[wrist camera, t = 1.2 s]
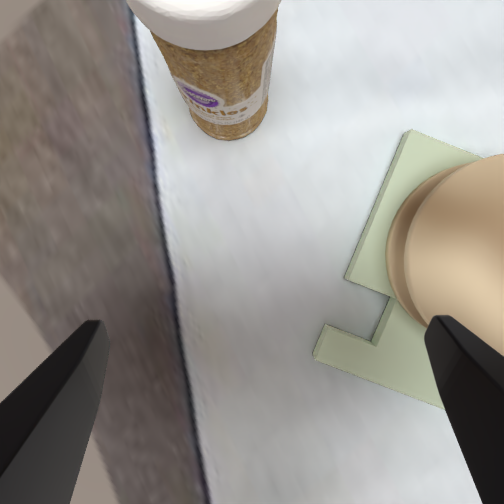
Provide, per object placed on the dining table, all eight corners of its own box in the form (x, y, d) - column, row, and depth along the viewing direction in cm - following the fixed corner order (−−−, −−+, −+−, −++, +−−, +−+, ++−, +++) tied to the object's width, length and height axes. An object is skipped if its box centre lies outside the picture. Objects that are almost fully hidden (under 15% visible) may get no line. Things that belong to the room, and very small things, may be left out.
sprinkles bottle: (184, 135, 22) (75, -4, 8) (195, 54, 21) (99, -232, 8) (263, 147, 22) (281, 28, 8) (275, 66, 21) (315, -196, 8)
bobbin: (517, 364, 22) (566, 391, 18) (357, 302, 21) (377, 318, 18) (592, 202, 21) (658, 198, 18) (428, 135, 21) (462, 118, 17)
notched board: (493, 423, 23) (504, 432, 22) (312, 354, 23) (315, 360, 22) (592, 209, 22) (608, 209, 21) (403, 133, 22) (411, 129, 21)
